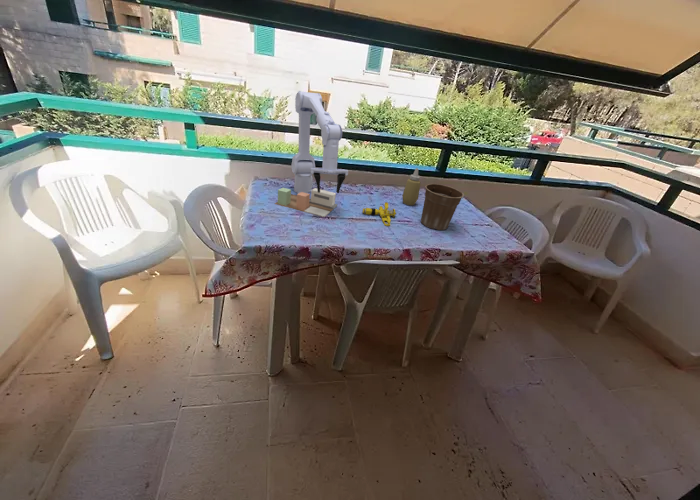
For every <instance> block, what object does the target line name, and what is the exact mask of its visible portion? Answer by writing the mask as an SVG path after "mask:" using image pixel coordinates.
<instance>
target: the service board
mask: <svg viewBox="0 0 700 500" xmlns="http://www.w3.org/2000/svg"><path fill="white" fill-rule="evenodd" d="M310 200H311V198H310ZM296 203H297V194H293V193H291V202H290V204H288V205H286V206H285V205H281V204H278V201H276V202H275V203H274V205H277V206H281V207H285V208H288V209H292V210H295V211H299V212H304V211H305V210H302V209H298V208H296ZM310 206H312V207H315V208H319V209H323V210H327V211H330V213H331V212H332V211H334V209H335V208H337V207H335V208H334V209H329V208H326V207H322V206H318V205H314V204H311V203H309V207H310ZM304 213H306V214H308V213H307V212H304ZM316 216H318V215H316ZM318 217H319V216H318ZM320 217H322V216H320ZM322 218H323V217H322Z"/></svg>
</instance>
